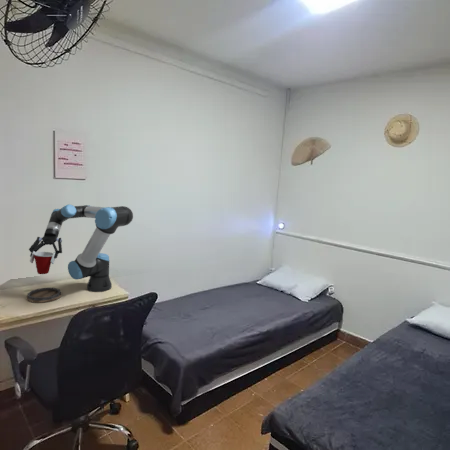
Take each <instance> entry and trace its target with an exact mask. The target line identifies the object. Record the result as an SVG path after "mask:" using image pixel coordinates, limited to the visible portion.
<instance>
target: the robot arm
mask: <svg viewBox="0 0 450 450" xmlns="http://www.w3.org/2000/svg"><path fill="white" fill-rule="evenodd" d="M50 214H51V215H50V217H49V221H48V223H47V225H46V228H45V231H44V235H43V236H42V237H40V236H37V237H36V240H35V241H34V242H33V243H32V244H31V246H30V247H29V248H28V251H29V252H30V255H29V257H30V258H29V262H30V263H31V264H33V263H34V261H35V257H34V254H33V253H35V252H39V250H40V249H41V248H42V247H44V246H46V245H49V246H52V247H53V249H54V252H52V253H53V256H52V259H51V265H54V263H55V261H56V260H55V259H57V258H58V256H59V254H62V253H63V247H62V242H63V240H62V237H59V236H60V231H61V229H62V225H63V223H64V222H66V221H67V220H71V219H77V218H78V219H79V218H90V219H94V223H95V226H96V228H95V229H94V231H93V232H92V235H91V236H90V238H89V241H88V242H87V243H86V245H85V247H84V250H83V251H82V252H81V253H79V254H78V255H77V256H76V258H75V260H71V261H69V262H68V264H67V271H68V272H67V273H68V274H69V276H70V277H71V278H72V279H74V280H82V279H85V278H88V277H89V278H88V281H87V285H86V289H87V291H89V292H94V293H98V292H99V293H100V292H101V293H102V292H106V291H109V290H111V289H112V285H113V284H112V281H111V278H110V256H109V254H107V253H101V250H102V249H103V248H104V247H105V246H104V245H106V242H107V241H108V239H109V238H110V236H111V235H114V234H115V232H116V231H117V229H118V228H119V227H124V226H128V225H130V224H131V222H133V219H134V213H133V211H132V210H131V208H130V207H128V206H122V205H121V206H111V207H110V206H105V207H104V206H102V207H101V206H95V205H87V204H86V205H84V204H83V205H73V204H70V203H69V204H66V205H63V207H61V208H55V209H53V210H52V212H51V213H50ZM56 242H57V245H56ZM57 247H58V248H57Z"/></svg>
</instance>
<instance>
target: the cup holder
mask: <svg viewBox="0 0 450 450" xmlns="http://www.w3.org/2000/svg"><path fill="white" fill-rule="evenodd" d="M62 296H63V294H62V291H61V290H60V289H59V288H56V287H41V288H36V289H32V290H30V291H29V292H28V293H27V295H26V301H27V302H29V303H33V304H45V303H46V304H47V303H51V302H54V301H57V300H60V299H61V298H62Z"/></svg>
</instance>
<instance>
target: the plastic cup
mask: <svg viewBox="0 0 450 450" xmlns="http://www.w3.org/2000/svg"><path fill="white" fill-rule="evenodd" d="M53 253H54V252H49V251H37V252H35V253H33V254H34V257H35V258H34V261H35V268H36V272H37V274H38V275H47V274H49V273H50V269H51V268H50V267H51V265H52V263H51V259H52V256H53Z"/></svg>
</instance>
